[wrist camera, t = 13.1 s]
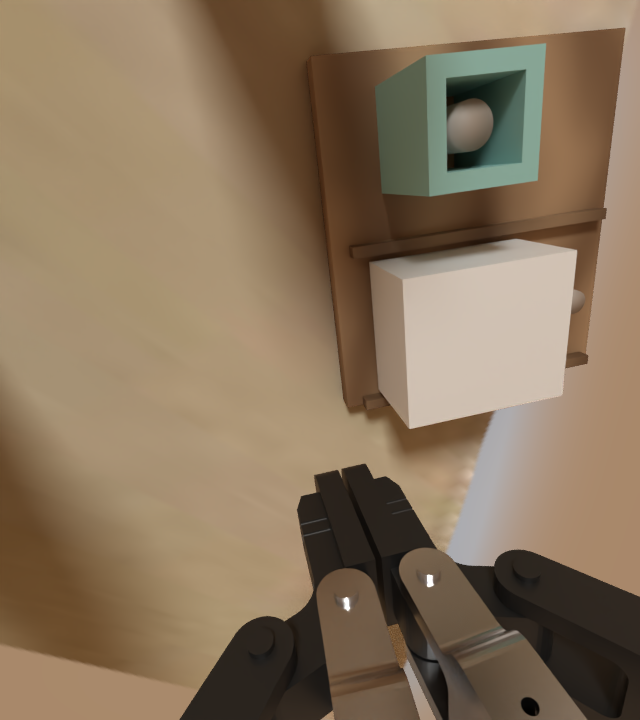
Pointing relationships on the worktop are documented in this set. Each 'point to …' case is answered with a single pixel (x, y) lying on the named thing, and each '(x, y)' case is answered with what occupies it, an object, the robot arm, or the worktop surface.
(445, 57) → the sleeve
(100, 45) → the worktop surface
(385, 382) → the white rectangular block
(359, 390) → the board
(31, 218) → the worktop surface
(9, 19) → the worktop surface
